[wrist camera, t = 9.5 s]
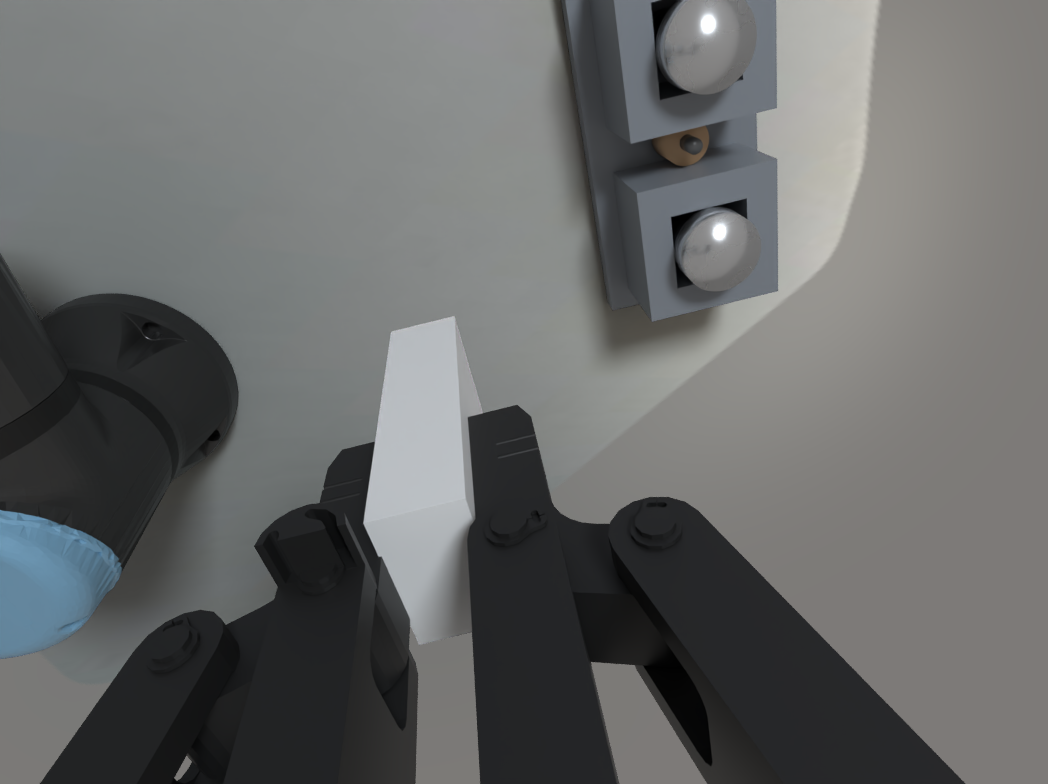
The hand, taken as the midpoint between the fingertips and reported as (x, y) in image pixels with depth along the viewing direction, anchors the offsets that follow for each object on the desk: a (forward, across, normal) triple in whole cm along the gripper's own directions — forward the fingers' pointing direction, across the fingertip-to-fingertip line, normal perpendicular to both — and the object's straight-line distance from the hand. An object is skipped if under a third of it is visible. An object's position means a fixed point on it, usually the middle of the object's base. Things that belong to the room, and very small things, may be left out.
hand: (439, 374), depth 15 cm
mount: (+34, +16, -3) cm, 38 cm away
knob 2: (+32, +16, -9) cm, 37 cm away
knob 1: (+32, +16, +3) cm, 36 cm away
